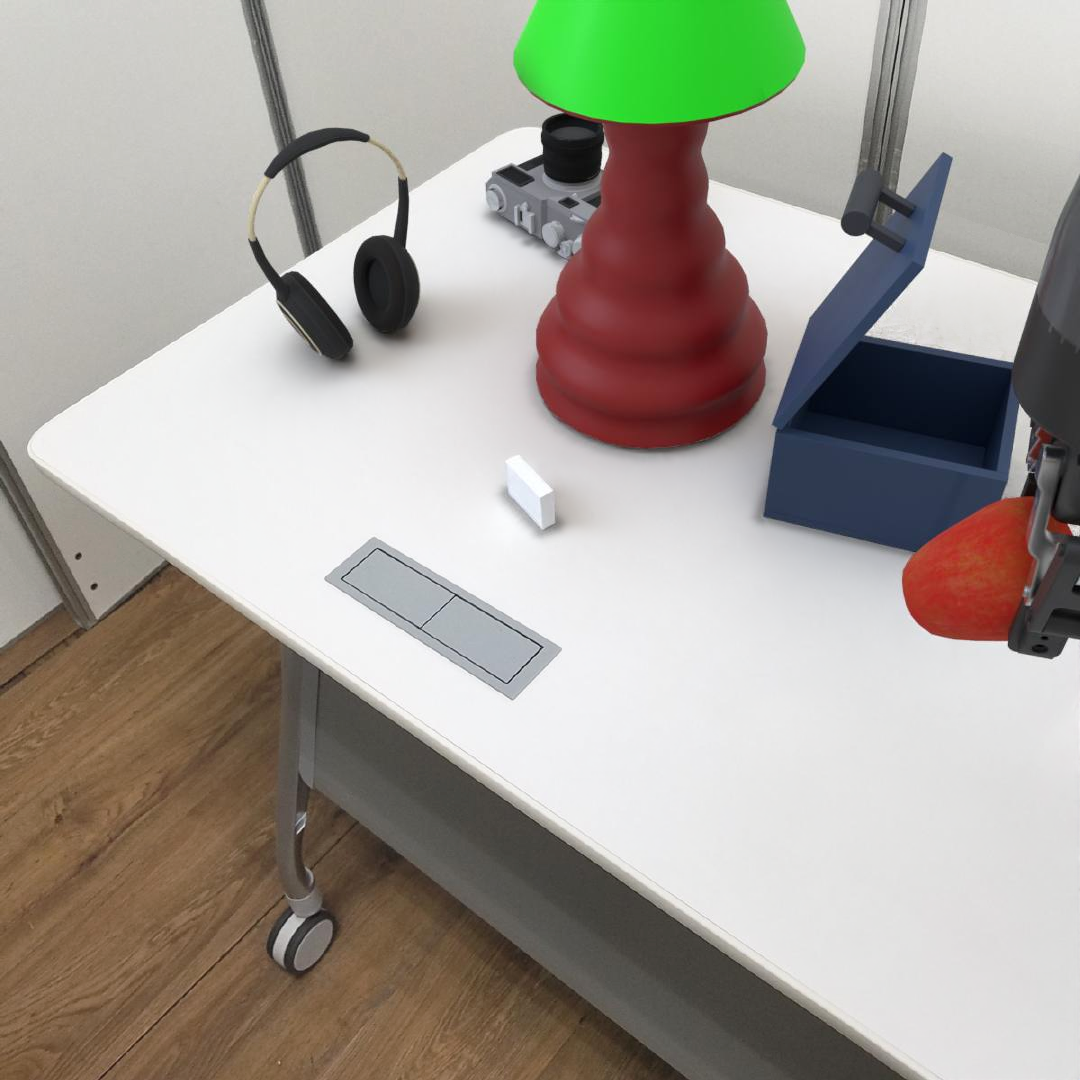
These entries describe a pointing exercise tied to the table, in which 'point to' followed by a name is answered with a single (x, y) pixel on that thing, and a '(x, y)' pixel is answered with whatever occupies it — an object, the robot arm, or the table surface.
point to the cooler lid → (866, 277)
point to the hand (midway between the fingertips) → (1033, 587)
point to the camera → (554, 183)
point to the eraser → (530, 492)
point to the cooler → (896, 444)
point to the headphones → (378, 266)
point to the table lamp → (654, 213)
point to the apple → (974, 573)
